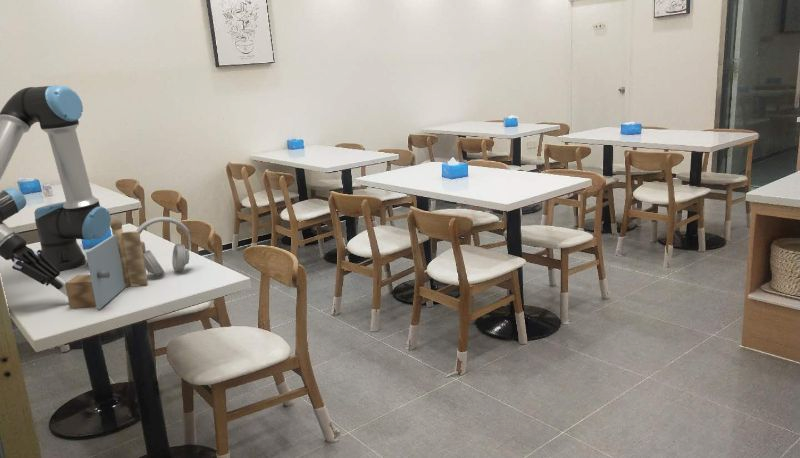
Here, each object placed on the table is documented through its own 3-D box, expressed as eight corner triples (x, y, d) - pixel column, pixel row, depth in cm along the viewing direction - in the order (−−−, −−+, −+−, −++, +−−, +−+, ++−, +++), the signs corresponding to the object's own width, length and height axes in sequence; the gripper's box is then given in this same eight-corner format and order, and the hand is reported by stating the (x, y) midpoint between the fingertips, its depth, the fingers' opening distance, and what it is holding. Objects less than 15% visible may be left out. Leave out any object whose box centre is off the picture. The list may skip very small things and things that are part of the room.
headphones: (140, 283, 201) (130, 224, 196) (136, 276, 209) (126, 219, 204) (198, 271, 210) (189, 215, 205) (192, 265, 218) (184, 210, 213)
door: (96, 309, 178) (85, 251, 174) (122, 286, 197) (113, 234, 193) (109, 308, 178) (99, 251, 174) (134, 285, 197) (125, 233, 193)
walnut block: (70, 308, 182) (64, 283, 180) (82, 299, 188) (77, 275, 186) (99, 306, 182) (95, 281, 180) (110, 298, 188) (106, 273, 186)
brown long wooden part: (119, 288, 197) (107, 221, 192) (123, 284, 201) (112, 219, 195) (145, 286, 198) (134, 220, 192) (148, 282, 201) (138, 217, 195)
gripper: (11, 245, 188) (75, 294, 192) (-15, 258, 175) (53, 310, 180) (25, 228, 187) (89, 277, 191) (0, 239, 174) (69, 292, 179)
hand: (72, 293), depth 185 cm, fingers closed
